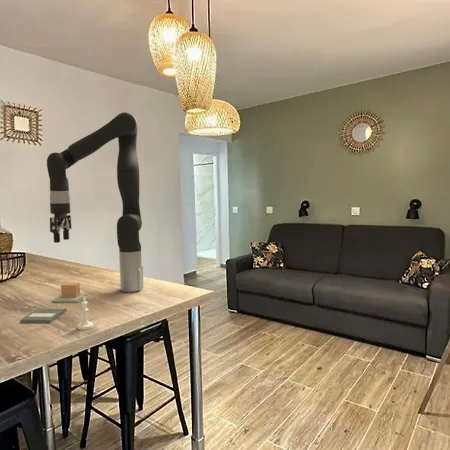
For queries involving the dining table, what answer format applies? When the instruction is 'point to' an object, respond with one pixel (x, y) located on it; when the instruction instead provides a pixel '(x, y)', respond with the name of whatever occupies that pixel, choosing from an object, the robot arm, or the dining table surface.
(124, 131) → the robot arm
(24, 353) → the dining table surface
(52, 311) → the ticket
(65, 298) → the green plate orange block
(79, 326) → the chess piece
